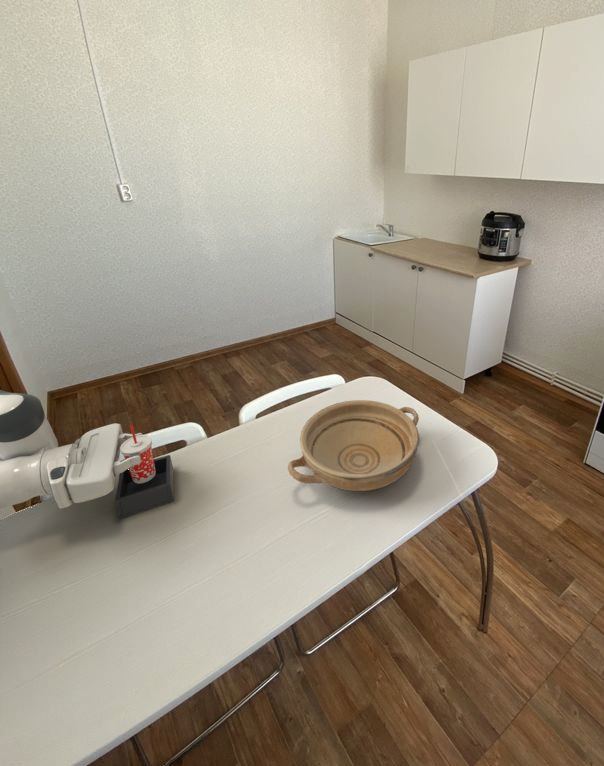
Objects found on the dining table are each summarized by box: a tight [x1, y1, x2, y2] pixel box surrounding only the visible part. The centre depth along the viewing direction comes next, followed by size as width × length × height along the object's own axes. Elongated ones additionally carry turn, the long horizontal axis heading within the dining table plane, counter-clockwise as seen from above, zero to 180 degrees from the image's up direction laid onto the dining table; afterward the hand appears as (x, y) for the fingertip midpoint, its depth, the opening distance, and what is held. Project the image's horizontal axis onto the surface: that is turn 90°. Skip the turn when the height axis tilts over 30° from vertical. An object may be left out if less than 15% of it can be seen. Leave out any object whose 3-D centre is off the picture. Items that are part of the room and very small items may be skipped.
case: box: [114, 454, 175, 520], centre depth 88 cm, size 11×11×5 cm
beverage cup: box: [120, 423, 156, 484], centre depth 85 cm, size 6×6×14 cm
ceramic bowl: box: [287, 399, 420, 492], centre depth 94 cm, size 37×29×10 cm
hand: (141, 447), depth 85 cm, fingers closed on beverage cup, 6 cm apart
